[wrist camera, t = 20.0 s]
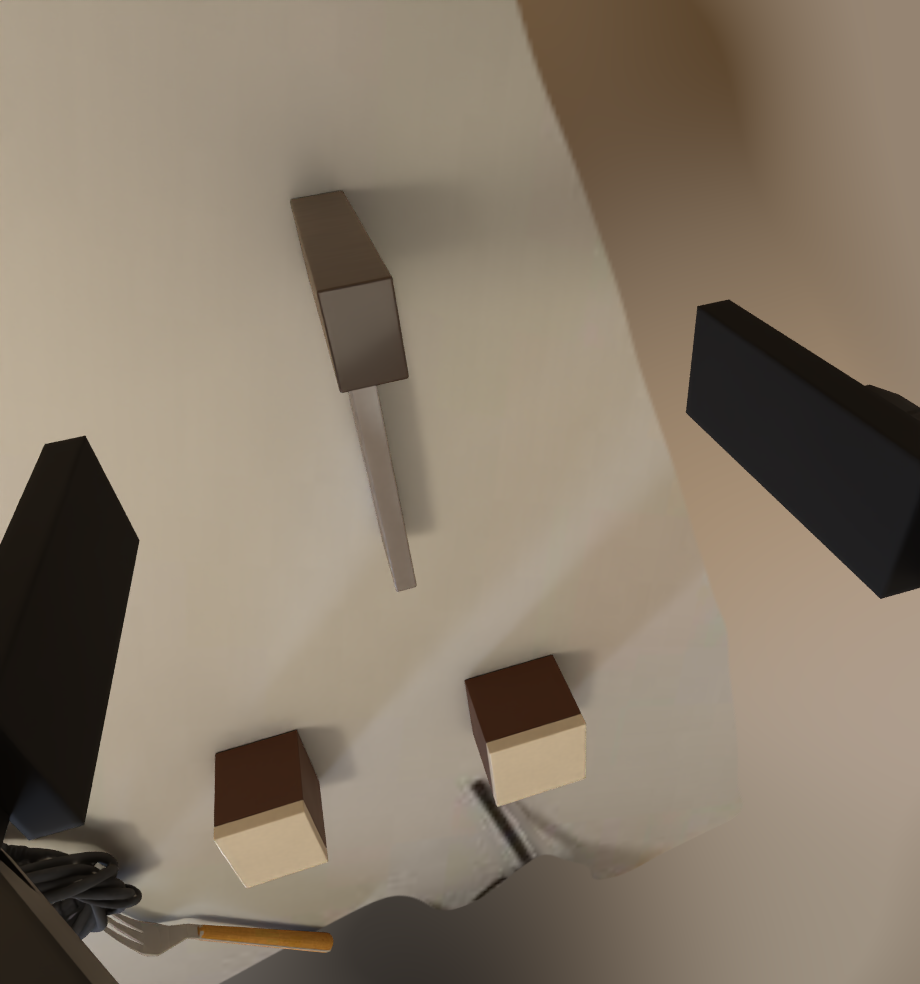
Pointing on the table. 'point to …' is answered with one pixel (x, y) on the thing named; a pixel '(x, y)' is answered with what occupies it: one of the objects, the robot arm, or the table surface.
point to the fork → (212, 936)
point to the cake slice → (268, 809)
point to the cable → (77, 885)
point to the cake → (527, 729)
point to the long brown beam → (359, 345)
